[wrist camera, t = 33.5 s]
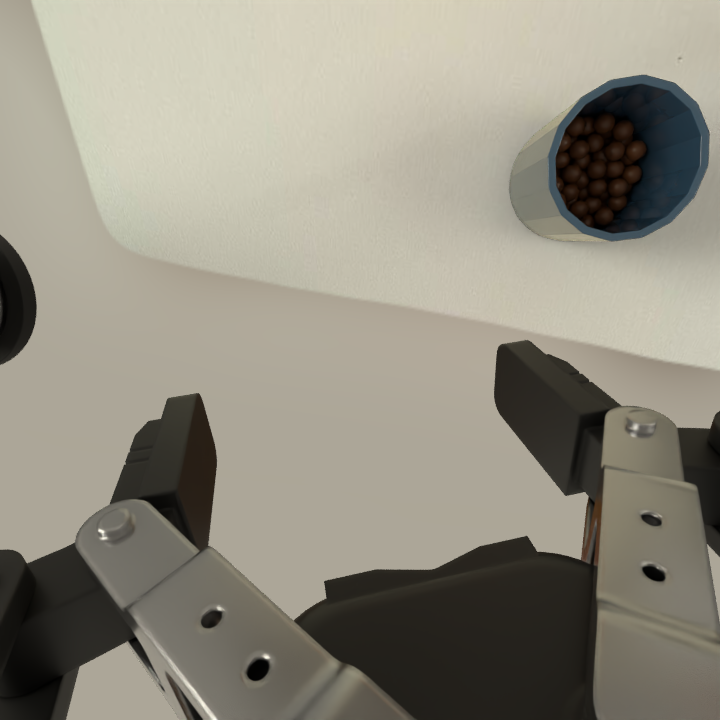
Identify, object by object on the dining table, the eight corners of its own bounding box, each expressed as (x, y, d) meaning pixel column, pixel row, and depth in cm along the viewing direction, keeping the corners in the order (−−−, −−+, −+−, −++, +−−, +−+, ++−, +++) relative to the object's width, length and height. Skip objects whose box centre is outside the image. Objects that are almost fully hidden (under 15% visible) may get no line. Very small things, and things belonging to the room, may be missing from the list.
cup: (512, 246, 30) (550, 249, 22) (506, 131, 28) (545, 90, 20) (624, 232, 29) (706, 229, 21) (625, 112, 27) (712, 62, 20)
